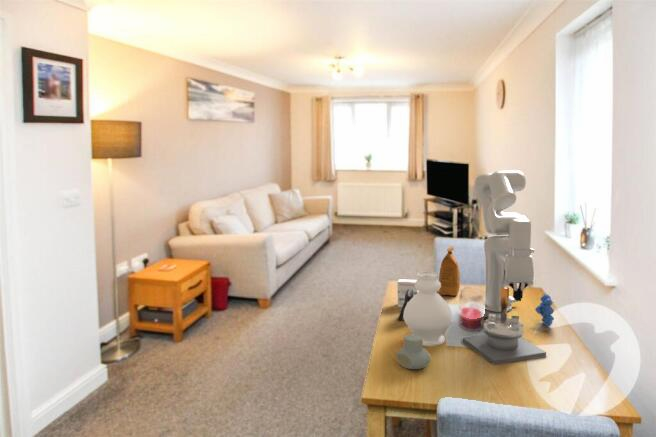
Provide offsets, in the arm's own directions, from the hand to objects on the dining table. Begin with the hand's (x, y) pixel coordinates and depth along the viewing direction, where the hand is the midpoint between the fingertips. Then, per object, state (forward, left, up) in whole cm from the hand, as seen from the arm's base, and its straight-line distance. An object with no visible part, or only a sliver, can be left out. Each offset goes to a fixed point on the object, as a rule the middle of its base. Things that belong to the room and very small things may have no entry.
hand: (517, 299), depth 186 cm
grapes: (-15, -4, -13) cm, 21 cm away
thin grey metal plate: (+13, +10, -13) cm, 21 cm away
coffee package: (0, -52, -13) cm, 53 cm away
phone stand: (+32, -27, -13) cm, 44 cm away
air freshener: (+48, +12, -13) cm, 51 cm away
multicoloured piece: (+10, +6, -7) cm, 14 cm away
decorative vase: (+34, -6, -13) cm, 37 cm away
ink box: (+26, -42, -13) cm, 51 cm away
